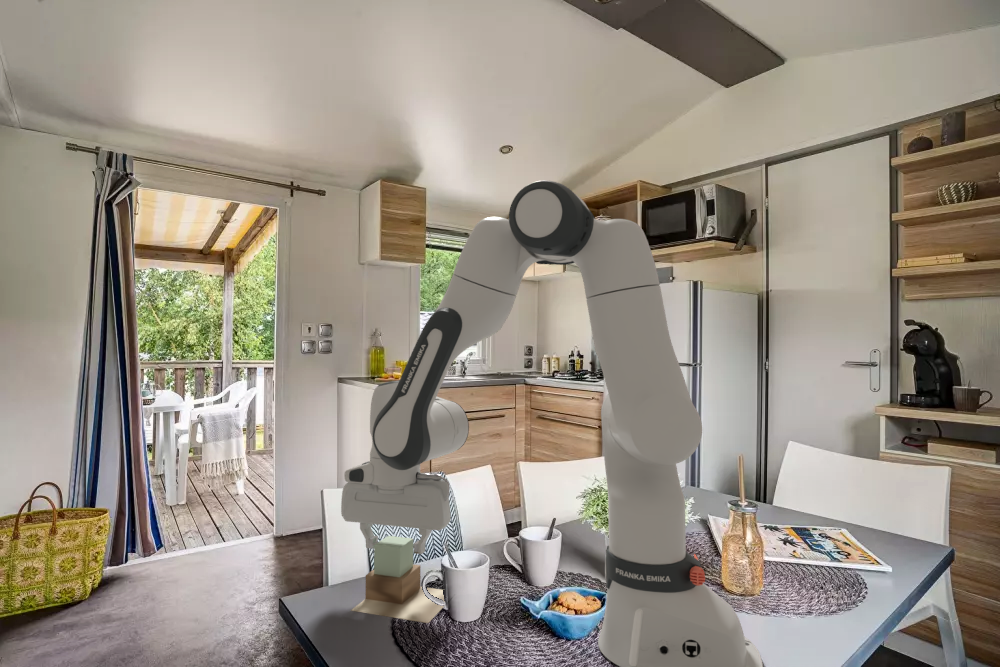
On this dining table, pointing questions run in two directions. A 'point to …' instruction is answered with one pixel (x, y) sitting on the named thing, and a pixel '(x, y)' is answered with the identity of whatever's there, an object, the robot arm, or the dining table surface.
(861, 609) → the dining table surface
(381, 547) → the sage cube
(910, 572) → the dining table surface
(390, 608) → the birch board
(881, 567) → the dining table surface
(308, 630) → the dining table surface
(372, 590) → the walnut base
